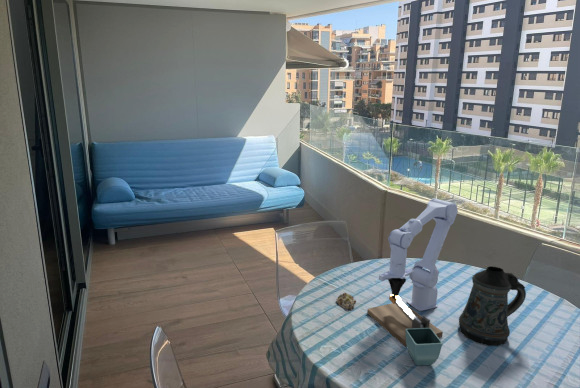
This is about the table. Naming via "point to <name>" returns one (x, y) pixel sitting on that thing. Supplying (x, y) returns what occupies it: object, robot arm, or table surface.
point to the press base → (399, 321)
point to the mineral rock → (346, 301)
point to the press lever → (404, 309)
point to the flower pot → (423, 345)
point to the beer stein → (490, 306)
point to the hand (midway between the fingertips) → (394, 294)
